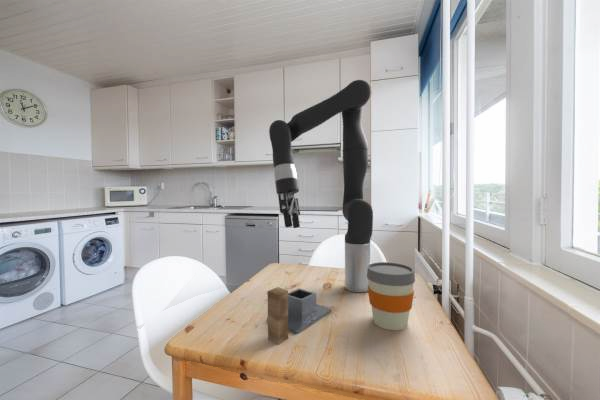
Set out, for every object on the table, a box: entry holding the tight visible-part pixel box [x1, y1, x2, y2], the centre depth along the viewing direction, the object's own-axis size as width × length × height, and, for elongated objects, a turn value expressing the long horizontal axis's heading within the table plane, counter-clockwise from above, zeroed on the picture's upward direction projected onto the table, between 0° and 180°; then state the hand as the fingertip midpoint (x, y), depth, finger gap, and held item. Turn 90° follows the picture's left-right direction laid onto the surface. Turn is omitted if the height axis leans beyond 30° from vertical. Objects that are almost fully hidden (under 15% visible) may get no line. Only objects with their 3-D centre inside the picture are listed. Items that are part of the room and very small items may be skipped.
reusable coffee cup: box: [367, 261, 416, 331], centre depth 73 cm, size 12×13×15 cm
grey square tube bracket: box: [266, 288, 333, 335], centre depth 77 cm, size 16×11×6 cm
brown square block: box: [267, 286, 289, 345], centre depth 65 cm, size 4×4×12 cm
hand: (292, 227), depth 88 cm, fingers open, 8 cm apart
